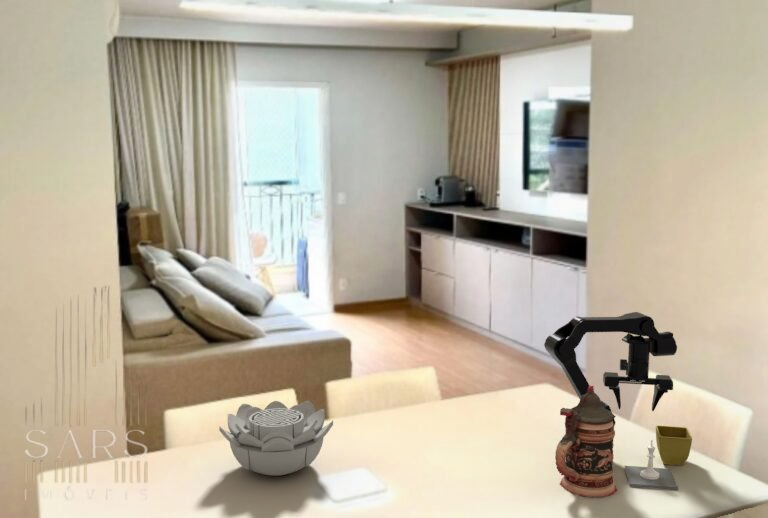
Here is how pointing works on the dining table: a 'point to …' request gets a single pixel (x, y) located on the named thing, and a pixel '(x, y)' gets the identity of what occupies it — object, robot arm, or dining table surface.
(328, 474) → the dining table surface
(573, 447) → the beer stein
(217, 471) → the dining table surface
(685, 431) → the flower pot
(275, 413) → the decorative bowl
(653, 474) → the chess piece
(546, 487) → the dining table surface
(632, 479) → the slate tile
